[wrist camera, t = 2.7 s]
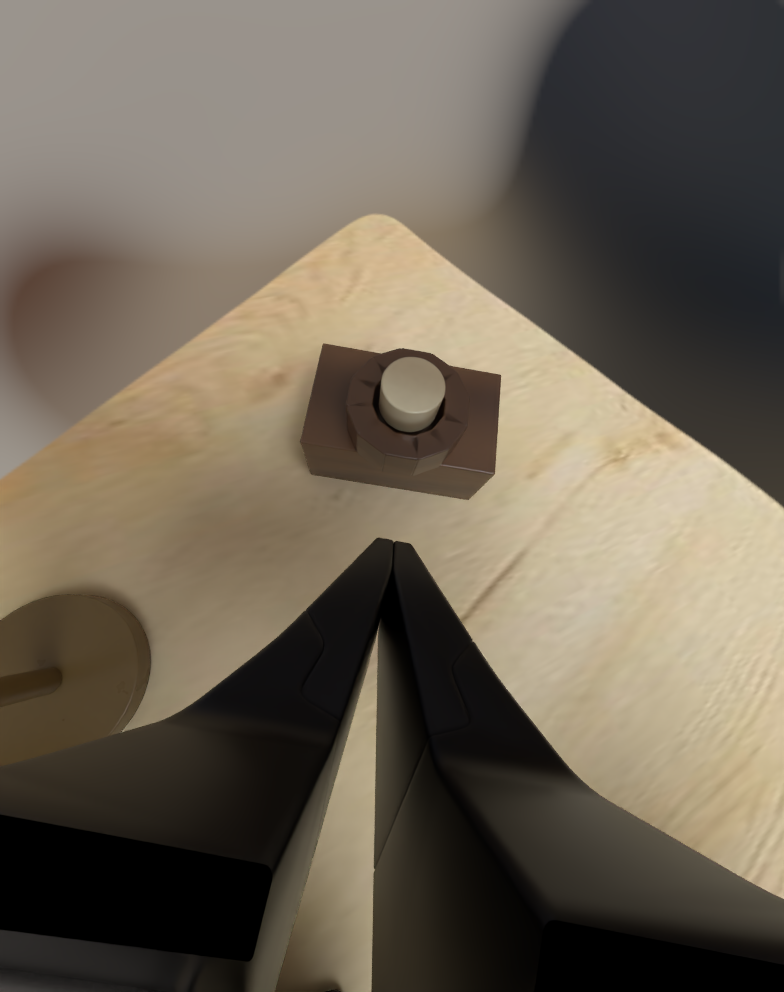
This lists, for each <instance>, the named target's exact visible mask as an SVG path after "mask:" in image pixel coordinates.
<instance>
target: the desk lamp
mask: <svg viewBox="0 0 784 992" xmlns="http://www.w3.org/2000/svg"><path fill="white" fill-rule="evenodd" d="M149 673H150V650H149V645H148V641H147V638H146V635H145V632H144V630H143V629H142V627H141V625H140V623H139V622H138V621H137V619H136V618H135V617H134V616H133V615H132V614H131V613H130V612H129V611H128V610H127V609H126V608H124V607H123V606H121V605H120V604H118V603H116V602H114V601H112V600H109V599H106V598H103V597H98V596H91V595H70V594H67V595H56V596H51V597H46V598H43V599H40V600H36V601H33V602H31V603H29V604H27V605H25V606H22V607H21V608H19V609H17V610H15V611H14V612H12V613H10V614H9V615H8V616H6V617H5V618H3V619H2V620H1V621H0V766H4V765H8V764H12V763H16V762H20V761H24V760H28V759H31V758H35V757H38V756H42V755H45V754H49V753H52V752H56V751H59V750H62V749H66V748H69V747H73V746H76V745H80V744H83V743H87V742H90V741H94V740H97V739H101V738H104V737H108V736H111V735H114V734H118V733H120V732H121V731H122V729H123V728H124V727H125V726H126V725H127V723H128V722H129V721H130V719H131V718H132V717H133V715H134V713H135V712H136V710H137V708H138V706H139V704H140V702H141V700H142V698H143V696H144V693H145V690H146V687H147V683H148V678H149Z"/></svg>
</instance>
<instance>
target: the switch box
mask: <svg viewBox="0 0 784 992" xmlns="http://www.w3.org/2000/svg"><path fill="white" fill-rule="evenodd" d="M405 357H418V358H422V359H425V360H427V361H429V362H431V363H432V364H433V365H435V366H436V367H437V368H438V369H439V371H440V372H441V374H442V375H443V378H444V381H445V395H444V398H443V400H442V403H441V405H440V407H439V410H438V412H437V415H436V417H435V419H434V420H433V422H432V423H431V424H430V425H429V426H428V427H426V428H424V429H422V430H420V431H416V432H404V431H400V430H397V429H395V428H393V427H392V426H390V425H389V424H388V423H387V422H386V421H385V420H384V418H383V417H382V415H381V413H380V409H379V396H380V387H381V379H382V375H383V373H384V371H385V369H386V368H387V367H388V366H389V365H390V364H391V363H393V362H394V361H396V360H398V359H401V358H405ZM500 385H501V375H498V374H493V373H487V372H481V371H476V370H470V369H465V368H459V367H453V366H449V365H447V364H446V363H445V362H443V361H442V360H440V359H439V358H438V357H436V356H435V355H433V354H431V353H426V352H420V351H415V350H409V349H404V348H402V349H396V350H393V351H389V352H386V353H382V354H380V353H374V352H369V351H363V350H358V349H352V348H346V347H341V346H335V345H329V344H323V345H322V350H321V354H320V358H319V362H318V367H317V371H316V375H315V380H314V384H313V388H312V393H311V397H310V401H309V406H308V410H307V414H306V419H305V423H304V427H303V431H302V436H301V440H300V443H301V446H302V449H303V452H304V455H305V458H306V461H307V464H308V467H309V469H310V472H311V474H312V475H318V476H324V477H330V478H336V479H343V480H349V481H355V482H361V483H367V484H374V485H380V486H386V487H392V488H398V489H404V490H411V491H417V492H423V493H429V494H435V495H441V496H448V497H454V498H460V499H466V500H469V499H470V498H471V497H472V496H473V495H474V494H475V493H476V492H477V491H478V490H479V489H480V488H481V487H482V486H483V485H484V484H485V483H486V482H487V481H488V480H489V479H490V478H491V477H492V476H493V475H494V474H495V463H496V448H497V432H498V417H499V401H500Z"/></svg>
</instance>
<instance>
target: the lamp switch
mask: <svg viewBox="0 0 784 992" xmlns="http://www.w3.org/2000/svg"><path fill="white" fill-rule="evenodd" d="M444 395H445V381H444V378H443V375H442V374H441V372H440V371H439V369H438V368H437V367H436V366H435V365H433V364H432V363H431V362H429V361H427V360H425V359H422V358H418V357H405V358H401V359H398V360H396V361H394V362H393V363H391V364H390V365H389V366H388V367H387V368H386V369H385V371H384V373H383V375H382V379H381V387H380V396H379V409H380V413H381V415H382V417H383V418H384V420H385V421H386V422H387V423H388V424H389V425H390V426H392V427H393V428H395V429H397V430H400V431H404V432H416V431H420V430H422V429H424V428H426V427H428V426H429V425H430V424H431V423H432V422H433V420H434V419H435V417H436V415H437V412H438V410H439V407H440V405H441V403H442V400H443V398H444Z"/></svg>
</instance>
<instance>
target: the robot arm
mask: <svg viewBox="0 0 784 992" xmlns="http://www.w3.org/2000/svg"><path fill="white" fill-rule="evenodd" d="M378 627H379V631H378ZM377 631H378V670H377V725H376V779H375V834H374V869H375V871H374V884H373V940H372V992H784V899H782V898H780V897H778V896H776V895H774V894H772V893H770V892H768V891H766V890H764V889H762V888H760V887H758V886H756V885H755V884H753V883H751V882H749V881H747V880H745V879H744V878H742V877H740V876H738V875H737V874H735V873H733V872H731V871H730V870H728V869H726V868H724V867H723V866H721V865H719V864H718V863H716V862H714V861H712V860H711V859H709V858H707V857H705V856H704V855H702V854H700V853H698V852H697V851H695V850H693V849H692V848H690V847H688V846H686V845H685V844H683V843H681V842H679V841H678V840H676V839H674V838H672V837H671V836H669V835H667V834H666V833H664V832H662V831H660V830H659V829H657V828H655V827H653V826H652V825H650V824H648V823H646V822H645V821H643V820H641V819H640V818H638V817H636V816H634V815H633V814H631V813H629V812H627V811H626V810H624V809H622V808H620V807H619V806H617V805H615V804H614V803H612V802H610V801H608V800H607V799H605V798H604V797H602V796H600V795H599V794H598V793H596V792H595V791H594V790H592V789H591V788H590V787H589V786H588V785H586V784H585V783H584V782H583V781H582V780H581V779H580V778H579V777H578V776H577V775H576V774H575V773H574V772H573V771H572V770H571V769H570V768H569V767H568V765H567V764H566V763H565V762H564V761H563V760H562V758H561V757H560V756H559V755H558V753H557V752H556V751H555V750H554V748H553V747H552V746H551V745H550V743H549V742H548V741H547V740H546V738H545V737H544V736H543V734H542V733H541V732H540V731H539V729H538V728H537V727H536V726H535V724H534V723H533V722H532V721H531V719H530V718H529V717H528V716H527V714H526V713H525V712H524V711H523V709H522V708H521V707H520V706H519V704H518V703H517V702H516V700H515V699H514V698H513V697H512V695H511V694H510V693H509V691H508V690H507V689H506V687H505V686H504V685H503V683H502V682H501V681H500V679H499V678H498V677H497V675H496V674H495V672H494V671H493V670H492V668H491V667H490V665H489V664H488V662H487V661H486V659H485V658H484V656H483V655H482V653H481V652H480V650H479V649H478V647H477V646H476V644H475V643H474V642H472V638H471V636H470V635H469V633H468V632H467V630H466V629H465V627H464V626H463V624H462V622H461V621H460V619H459V618H458V616H457V615H456V613H455V612H454V610H453V608H452V607H451V605H450V604H449V602H448V601H447V599H446V598H445V596H444V594H443V593H442V591H441V590H440V588H439V587H438V585H437V584H436V582H435V580H434V579H433V577H432V576H431V574H430V573H429V571H428V570H427V568H426V566H425V565H424V563H423V562H422V560H421V559H420V557H419V556H418V554H417V552H416V551H415V549H414V548H413V546H412V545H411V544H409V543H404V542H399V541H396V542H393V541H392V540H389V539H383V538H377V539H375V540H374V541H373V542H372V543H371V544H370V545H369V546H368V547H367V548H366V549H365V551H364V552H363V553H362V554H361V555H360V556H359V557H358V558H357V559H356V560H355V561H354V562H353V563H352V564H351V565H350V566H349V567H348V568H347V569H346V570H345V571H344V572H343V573H342V574H341V575H340V576H339V577H338V578H337V579H336V580H335V581H334V582H333V583H332V584H331V585H330V586H329V587H328V588H327V589H326V590H325V591H324V592H323V593H322V594H321V595H320V596H319V597H318V598H317V599H316V600H315V601H314V602H313V603H312V604H311V605H310V606H309V607H308V608H307V609H306V611H304V612H303V613H302V614H301V615H300V616H299V617H298V618H297V619H296V620H295V621H294V622H293V623H292V624H291V625H290V626H289V627H288V628H287V629H286V630H284V631H283V632H282V633H281V634H280V635H279V636H278V637H277V638H276V639H275V640H273V641H272V642H271V643H270V644H268V645H267V646H266V647H265V648H264V649H262V650H261V651H260V652H259V653H257V654H256V655H255V656H254V657H252V658H251V659H250V660H249V661H247V662H246V663H245V664H243V665H242V666H241V667H240V668H238V669H237V670H236V671H234V672H233V673H232V674H231V675H229V676H228V677H227V678H225V679H224V680H223V681H221V682H220V683H219V684H218V685H216V686H215V687H214V688H212V689H211V690H210V691H209V692H207V693H206V694H205V695H203V696H202V697H201V698H200V699H198V700H197V701H195V702H194V703H193V704H191V705H190V706H188V707H186V708H185V709H183V710H182V711H180V712H178V713H176V714H174V715H172V716H171V717H168V718H166V719H164V720H162V721H159V722H156V723H153V724H149V725H146V726H142V727H139V728H135V729H132V730H128V731H125V732H121V733H118V734H114V735H111V736H108V737H104V738H101V739H97V740H94V741H90V742H87V743H83V744H80V745H76V746H73V747H69V748H66V749H62V750H59V751H56V752H52V753H49V754H45V755H42V756H38V757H35V758H31V759H28V760H24V761H20V762H16V763H12V764H8V765H4V766H0V992H275V989H276V985H277V982H278V978H279V975H280V971H281V968H282V964H283V961H284V957H285V954H286V950H287V947H288V943H289V940H290V936H291V933H292V929H293V926H294V922H295V919H296V915H297V912H298V908H299V905H300V901H301V898H302V894H303V891H304V887H305V884H306V880H307V877H308V873H309V870H310V866H311V863H312V858H313V856H314V852H315V849H316V845H317V842H318V838H319V835H320V831H321V828H322V824H323V821H324V817H325V814H326V810H327V807H328V803H329V800H330V796H331V793H332V789H333V786H334V782H335V779H336V776H337V772H338V769H339V765H340V762H341V758H342V755H343V751H344V748H345V744H346V741H347V737H348V734H349V730H350V727H351V723H352V720H353V716H354V713H355V709H356V706H357V702H358V699H359V695H360V692H361V688H362V685H363V681H364V678H365V674H366V671H367V667H368V664H369V660H370V657H371V653H372V650H373V646H374V643H375V639H376V635H377ZM326 992H340V991H338V990H329V991H326Z"/></svg>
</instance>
